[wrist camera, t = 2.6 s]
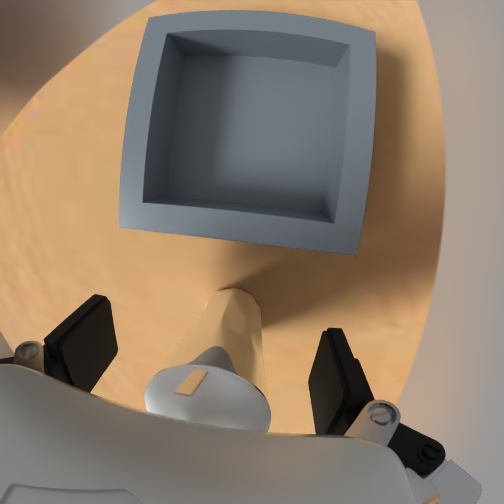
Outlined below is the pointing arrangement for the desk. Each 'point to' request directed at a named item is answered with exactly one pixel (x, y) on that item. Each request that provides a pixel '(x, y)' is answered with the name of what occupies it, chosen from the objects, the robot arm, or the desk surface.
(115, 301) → the desk surface
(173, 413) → the milkshake
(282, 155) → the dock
